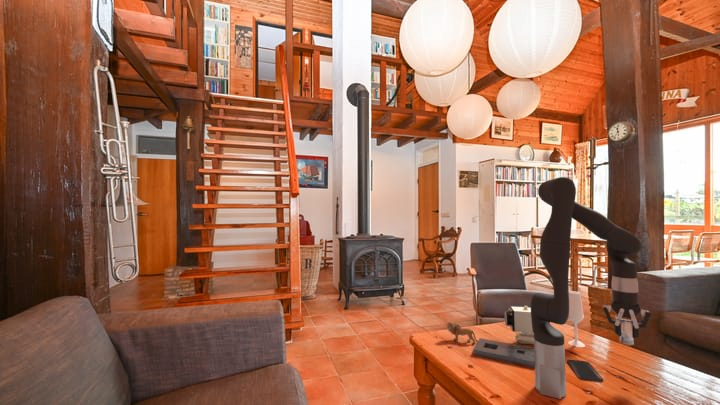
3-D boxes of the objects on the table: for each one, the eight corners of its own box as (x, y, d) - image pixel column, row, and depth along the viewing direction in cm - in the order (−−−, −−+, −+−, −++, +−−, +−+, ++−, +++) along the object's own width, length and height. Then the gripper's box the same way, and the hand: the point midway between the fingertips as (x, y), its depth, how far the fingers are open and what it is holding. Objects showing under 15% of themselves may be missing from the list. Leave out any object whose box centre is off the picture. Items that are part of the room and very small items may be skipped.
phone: (587, 361, 130) (604, 380, 116) (587, 364, 130) (604, 383, 116) (565, 359, 132) (579, 377, 118) (565, 361, 132) (579, 380, 118)
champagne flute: (567, 340, 153) (565, 290, 154) (583, 342, 150) (582, 291, 150) (568, 345, 147) (566, 293, 148) (586, 348, 144) (584, 294, 144)
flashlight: (634, 345, 113) (634, 323, 113) (620, 343, 115) (619, 321, 115) (632, 342, 116) (631, 319, 117) (618, 339, 118) (617, 318, 119)
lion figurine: (446, 341, 153) (446, 323, 154) (447, 337, 158) (447, 319, 159) (479, 345, 149) (478, 326, 149) (478, 341, 154) (478, 322, 154)
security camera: (545, 341, 152) (543, 303, 153) (550, 348, 144) (549, 309, 144) (504, 338, 157) (503, 301, 157) (507, 345, 148) (506, 306, 149)
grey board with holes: (536, 368, 126) (536, 362, 126) (473, 355, 139) (473, 349, 139) (537, 354, 138) (537, 348, 138) (479, 343, 151) (479, 338, 151)
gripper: (601, 288, 117) (603, 336, 116) (653, 293, 109) (655, 344, 109) (599, 285, 123) (600, 329, 123) (648, 289, 116) (649, 337, 115)
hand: (626, 336), depth 116 cm, fingers closed on flashlight, 4 cm apart
